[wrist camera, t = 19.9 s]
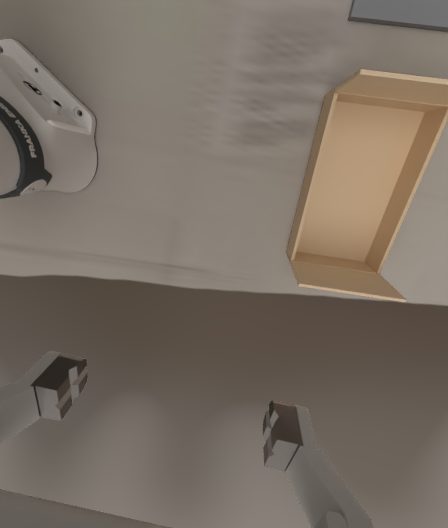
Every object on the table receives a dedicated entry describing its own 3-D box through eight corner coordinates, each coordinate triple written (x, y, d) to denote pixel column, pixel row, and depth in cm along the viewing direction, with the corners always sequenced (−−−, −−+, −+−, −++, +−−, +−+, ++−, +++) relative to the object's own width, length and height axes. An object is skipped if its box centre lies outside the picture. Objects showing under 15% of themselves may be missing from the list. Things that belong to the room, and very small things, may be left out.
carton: (286, 252, 47) (298, 286, 35) (324, 96, 36) (361, 69, 24) (365, 263, 46) (405, 302, 34) (428, 108, 36) (516, 87, 24)
